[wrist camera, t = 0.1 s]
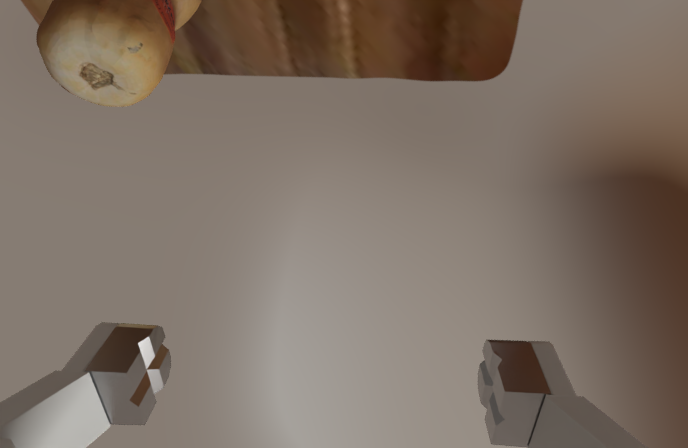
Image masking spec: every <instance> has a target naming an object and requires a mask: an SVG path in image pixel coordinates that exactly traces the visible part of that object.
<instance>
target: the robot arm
mask: <svg viewBox="0 0 688 448" xmlns="http://www.w3.org/2000/svg"><path fill="white" fill-rule="evenodd" d="M164 338H165V334H164V331H163V328H162V327H160V326H156V325H140V324H126V323H121V324H119V323H105V322H102V323H100V324H99V325H97V326H96V327H95V328H94V329H93V331H92V332H91V333H90V335H89V336H88V337H87V338H86V340H85V341H84V342H83V344H82V345H81V346H80V347H79V349H78V350H77V351H76V353H75V354H74V355H73V356H72V358H71V359H70V360H69V362H68V363H67V364H66V366H65V367H64V368H63V370H62V371H54V372H53V373H51V374H49V375H47V376H45V377H44V378H42V379H40V380H38V381H37V382H35V383H33V384H31V385H30V386H28V387H26V388H25V389H23V390H21V391H19V392H18V393H16V394H14V395H12V396H11V397H9V398H7V399H6V400H4V401H2V402H0V448H86V447H87V446H88V445H90V444H91V443H92V442H93V441H94V440H95V439H96V438H98V437H99V436H100V435H101V434H102V433H103V432H105V431H106V430H107V429H108V428H109V427H110V426H111V425H110V424H119V425H145V424H146V422H147V420H148V418H149V416H150V414H151V412H152V410H153V408H154V406H155V404H156V399H155V396H154V394H155V393H156V392H158V391H159V390H160V389H162V388H163V387H164V385H165V384H166V381H167V379H168V377H169V372H170V368H171V356H170V352H169V349H167V348H166V347H165V346H164V345H163V344H162V342H163V340H164ZM483 355H484V358H485V360H484V361H483V362H482V363H481V364H480V366H479V371H478V390H479V396H480V401H481V403H482V405H484V407H486V408H487V412H486V416H485V421H486V426H487V430H488V434H489V438H490V442H491V444H494V445H506V446H518V447H528V448H648V447H646V446H645V445H644V444H642V443H641V442H640V441H639V440H638V439H636V438H635V437H633V436H632V435H631V434H630V433H629V432H627V431H626V430H625V429H624V428H622V427H621V426H620V425H619V424H617V423H616V422H615V421H613V420H612V419H611V418H610V417H609V416H607V415H606V414H605V413H603V412H602V411H601V410H600V409H598V408H597V407H596V406H595V405H593V404H592V403H591V402H590V401H588V400H587V399H586V398H584V397H581V396H577V395H576V393H575V391H574V389H573V387H572V384H571V383H570V380H569V378H568V376H567V374H566V372H565V370H564V368H563V365H562V363H561V361H560V359H559V357H558V355H557V353H556V351H555V349H554V346H553V345H552V344H551V343H550V342H545V341H528V342H527V341H511V340H486V341H485V343H484V347H483Z"/></svg>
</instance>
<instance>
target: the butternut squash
mask: <svg viewBox="0 0 688 448" xmlns="http://www.w3.org/2000/svg"><path fill="white" fill-rule="evenodd" d="M201 1H202V0H54V1H53V2H52V3H51V5H50V7H49V9H48V11H47V13H46V15H45V17H44V19H43V21H42V22H41V24H40V26H39V28H38V31H37V45H38V47H39V50H40V54H41V56H42V58H43V61H44V64H45V66H46V68H47V70H48V72H49V73H50V75H51V76H52V77H53V79H55V80H56V81H57V82H58V83H59V84H60V85H61V86H62V87H63V88H64V89H66V90H67V91H68V92H70V93H71V94H73V95H75V96H77V97H79V98H81V99H83V100H86V101H89V102H91V103H95V104H98V105H103V106H115V107H118V106H119V107H124V106H130V105H133V104H135V103H137V102H139V101H141V100H143V99H145V98H146V97H147V96H148V95H150V94H151V92H152V91H153V90H154V88H155V87H156V86H157V85H158V83H159V82H160V81H161V79H162V77H163V74H164V72H165V70H166V67H167V65H168V62H169V60H170V57H171V54H172V50H173V45H174V41H175V31H176V30H177V29H179V28H180V27H181V26H183V25H184V24H185V23H186V22H187V21H188V20H189V19H190V18H191V17H192V15H193V14H194V13H195V12H196V10H197V9H198V7H199V5H200V3H201Z"/></svg>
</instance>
